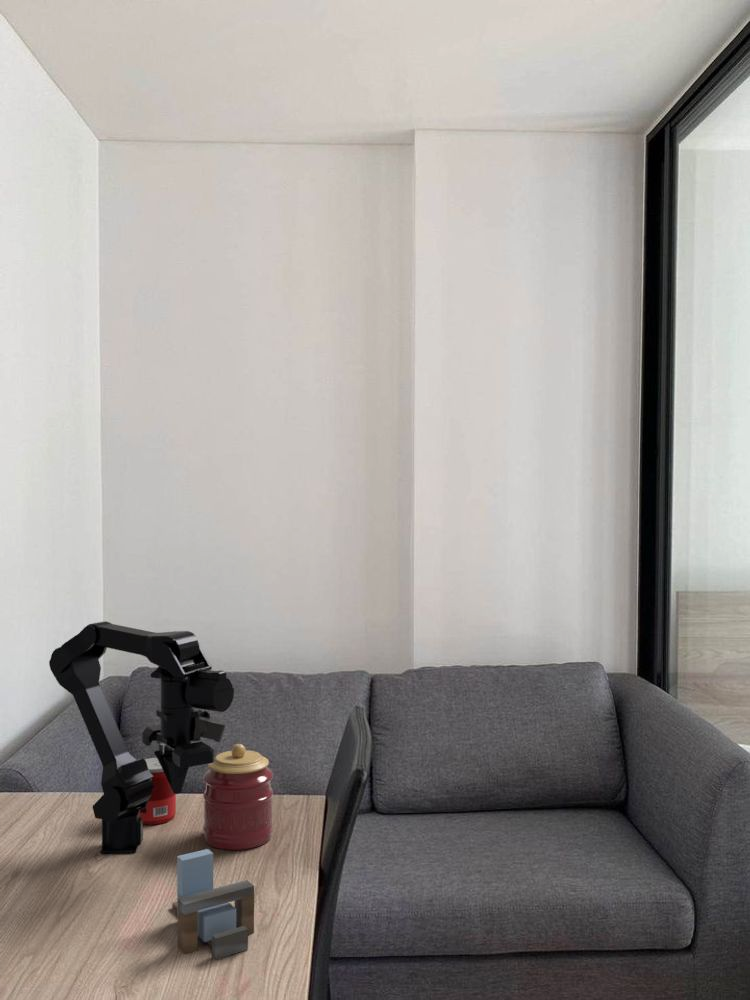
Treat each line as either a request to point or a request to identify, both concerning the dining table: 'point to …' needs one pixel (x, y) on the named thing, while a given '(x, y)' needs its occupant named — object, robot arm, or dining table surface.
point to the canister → (238, 800)
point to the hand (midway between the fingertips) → (177, 793)
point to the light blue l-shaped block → (199, 878)
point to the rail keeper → (191, 904)
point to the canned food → (159, 797)
